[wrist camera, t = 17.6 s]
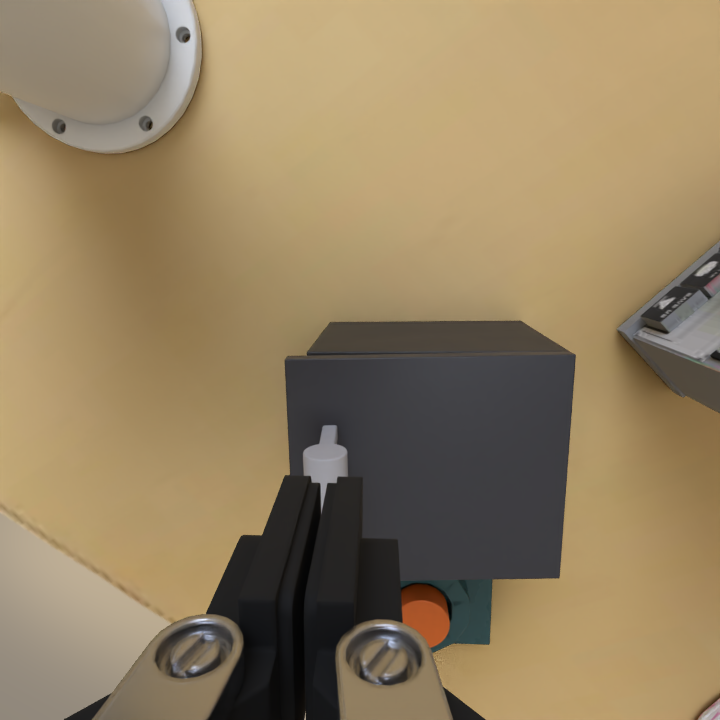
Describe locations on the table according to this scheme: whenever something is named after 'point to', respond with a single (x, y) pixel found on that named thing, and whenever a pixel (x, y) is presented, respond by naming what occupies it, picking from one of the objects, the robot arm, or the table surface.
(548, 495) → the lid
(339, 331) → the open dark grey box
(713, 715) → the teacup
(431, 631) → the button
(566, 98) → the table surface
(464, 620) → the control block
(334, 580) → the robot arm
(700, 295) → the ribbed grey cuboid
